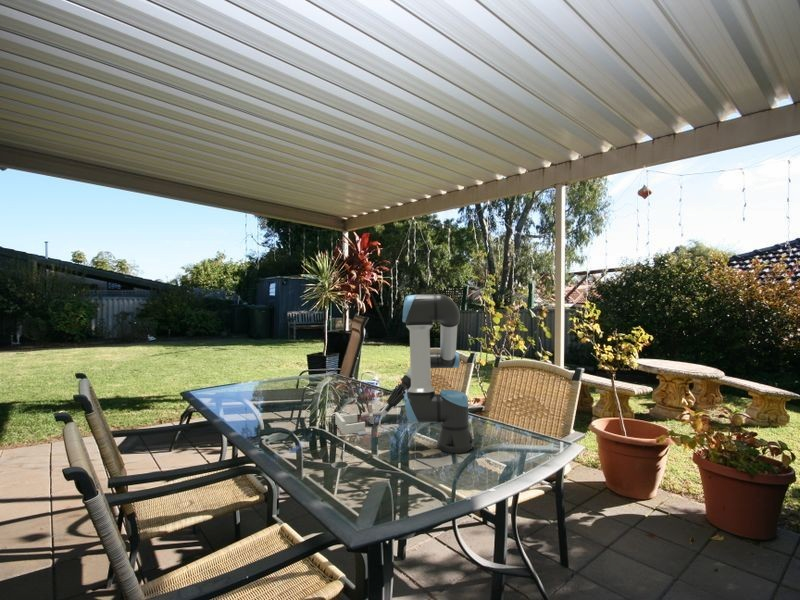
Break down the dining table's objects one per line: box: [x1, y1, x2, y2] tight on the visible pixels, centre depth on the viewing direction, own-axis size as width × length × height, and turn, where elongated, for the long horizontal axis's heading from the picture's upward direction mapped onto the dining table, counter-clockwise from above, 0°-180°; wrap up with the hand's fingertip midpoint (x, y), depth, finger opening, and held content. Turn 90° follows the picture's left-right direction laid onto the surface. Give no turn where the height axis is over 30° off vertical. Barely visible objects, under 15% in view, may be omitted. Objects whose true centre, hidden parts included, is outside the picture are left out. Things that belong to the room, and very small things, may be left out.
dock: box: [334, 411, 368, 437], centre depth 208 cm, size 26×11×6 cm, turn 21°
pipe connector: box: [360, 403, 382, 425], centre depth 212 cm, size 10×10×10 cm
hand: (381, 415), depth 214 cm, fingers closed
